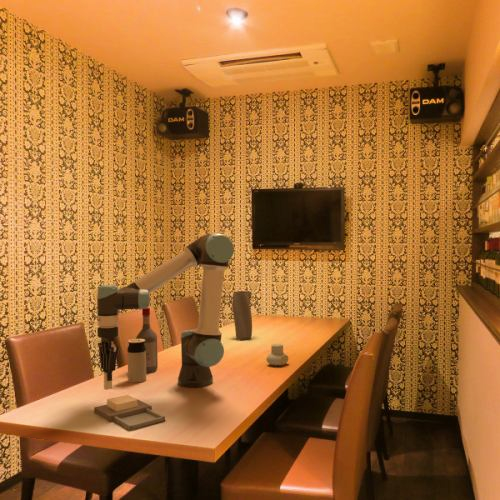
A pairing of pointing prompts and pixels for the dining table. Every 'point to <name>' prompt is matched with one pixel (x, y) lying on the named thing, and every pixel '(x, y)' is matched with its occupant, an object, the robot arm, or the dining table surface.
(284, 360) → the air freshener
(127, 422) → the tray
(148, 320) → the liquor
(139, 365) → the travel mug
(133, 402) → the coaster
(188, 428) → the dining table surface
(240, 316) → the vase
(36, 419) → the dining table surface
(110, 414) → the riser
